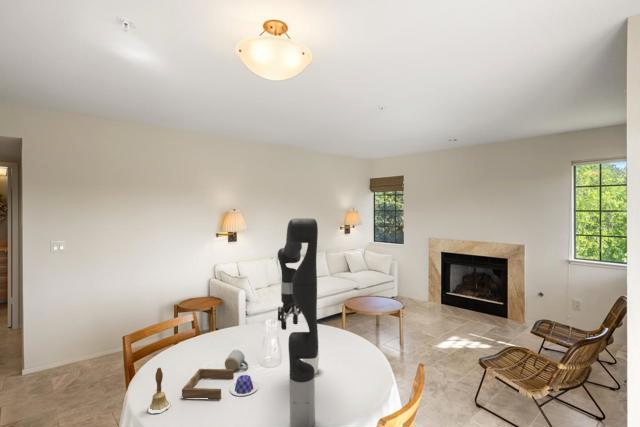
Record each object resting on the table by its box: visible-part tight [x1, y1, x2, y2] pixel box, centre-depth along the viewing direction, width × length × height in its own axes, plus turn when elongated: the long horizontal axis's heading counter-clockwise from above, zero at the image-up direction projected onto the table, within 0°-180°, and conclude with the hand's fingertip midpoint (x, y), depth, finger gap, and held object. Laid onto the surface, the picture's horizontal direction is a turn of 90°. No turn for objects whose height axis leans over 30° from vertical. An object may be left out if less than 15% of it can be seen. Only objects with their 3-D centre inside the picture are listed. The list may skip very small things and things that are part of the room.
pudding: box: [229, 374, 259, 397], centre depth 144 cm, size 12×12×5 cm
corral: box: [181, 368, 235, 400], centre depth 144 cm, size 17×16×4 cm
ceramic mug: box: [224, 349, 249, 372], centre depth 162 cm, size 11×8×8 cm
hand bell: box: [149, 367, 170, 410], centre depth 130 cm, size 8×8×16 cm
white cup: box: [302, 349, 320, 375], centre depth 158 cm, size 8×8×10 cm
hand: (289, 326), depth 150 cm, fingers open, 8 cm apart
